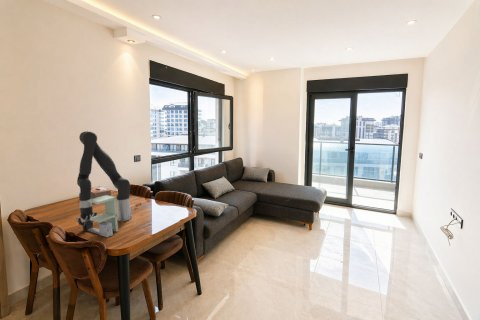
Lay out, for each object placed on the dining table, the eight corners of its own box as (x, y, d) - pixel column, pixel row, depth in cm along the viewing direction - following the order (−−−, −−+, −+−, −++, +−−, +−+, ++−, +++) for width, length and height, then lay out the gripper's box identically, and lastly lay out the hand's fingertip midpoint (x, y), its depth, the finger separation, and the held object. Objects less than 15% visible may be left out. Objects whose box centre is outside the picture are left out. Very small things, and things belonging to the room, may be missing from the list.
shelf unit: (108, 228, 182) (105, 195, 178) (118, 230, 177) (115, 196, 174) (91, 235, 170) (88, 200, 166) (101, 238, 166) (98, 202, 162)
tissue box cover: (111, 199, 249) (110, 190, 248) (95, 203, 238) (94, 193, 237) (101, 195, 266) (100, 185, 264) (85, 198, 255) (85, 188, 253)
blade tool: (89, 228, 182) (88, 218, 181) (105, 232, 174) (104, 223, 173) (83, 230, 178) (82, 220, 177) (99, 235, 171) (99, 225, 170)
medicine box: (113, 235, 171) (112, 223, 170) (107, 237, 167) (106, 225, 166) (105, 232, 174) (104, 221, 173) (99, 235, 170) (98, 223, 169)
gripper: (92, 202, 185) (94, 224, 187) (72, 207, 172) (74, 231, 175) (99, 203, 181) (100, 226, 184) (79, 209, 169) (81, 233, 171)
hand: (88, 228), depth 179 cm, fingers closed on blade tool, 4 cm apart
